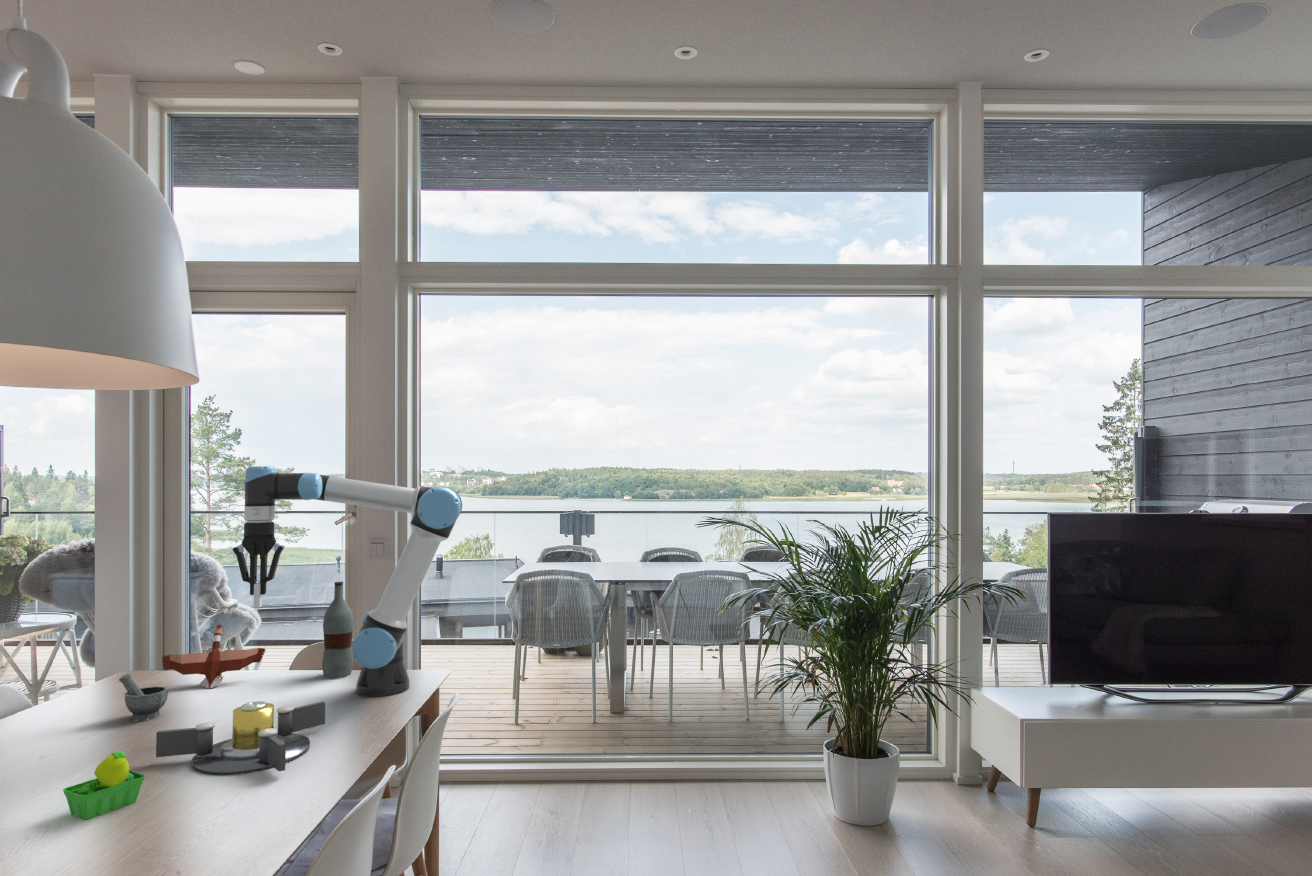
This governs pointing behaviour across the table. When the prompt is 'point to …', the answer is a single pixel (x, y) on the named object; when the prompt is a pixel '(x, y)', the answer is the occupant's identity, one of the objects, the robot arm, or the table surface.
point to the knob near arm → (300, 717)
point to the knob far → (185, 741)
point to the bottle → (338, 637)
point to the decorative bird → (212, 661)
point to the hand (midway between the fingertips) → (257, 606)
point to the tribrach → (247, 743)
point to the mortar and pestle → (143, 699)
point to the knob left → (272, 749)
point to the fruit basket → (105, 788)
